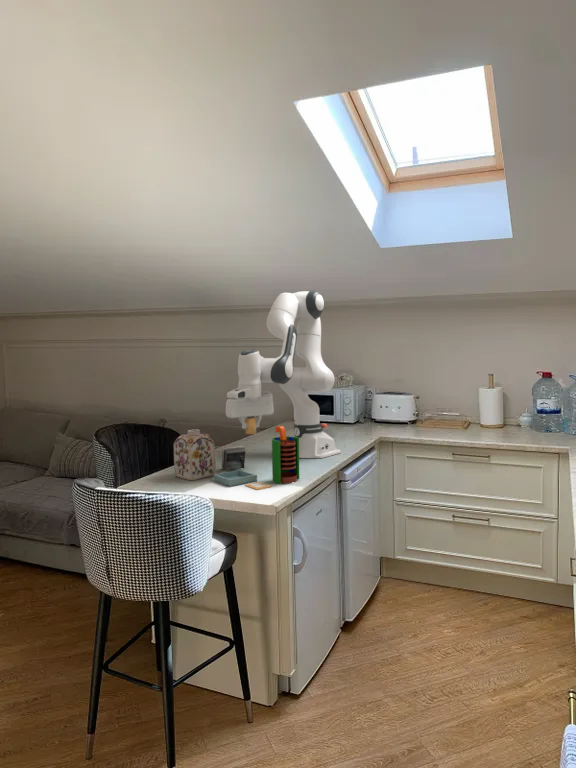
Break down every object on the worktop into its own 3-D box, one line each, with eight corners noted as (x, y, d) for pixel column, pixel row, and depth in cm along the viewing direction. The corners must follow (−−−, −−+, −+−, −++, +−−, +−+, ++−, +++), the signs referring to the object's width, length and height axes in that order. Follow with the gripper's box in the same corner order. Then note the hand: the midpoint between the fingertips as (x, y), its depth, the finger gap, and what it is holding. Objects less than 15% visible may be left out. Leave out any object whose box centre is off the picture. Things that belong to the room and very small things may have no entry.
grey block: (235, 473, 233) (235, 460, 233) (241, 475, 230) (240, 462, 230) (226, 475, 231) (226, 462, 230) (232, 476, 228) (231, 464, 227)
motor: (287, 485, 212) (285, 429, 211) (267, 482, 217) (265, 428, 216) (302, 479, 221) (301, 425, 219) (283, 476, 226) (281, 424, 224)
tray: (240, 476, 228) (239, 469, 228) (257, 481, 219) (256, 474, 219) (213, 481, 221) (213, 474, 221) (230, 487, 212) (229, 480, 212)
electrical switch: (243, 466, 245) (242, 444, 244) (247, 470, 241) (247, 447, 239) (221, 469, 242) (220, 446, 240) (225, 472, 237) (224, 450, 235)
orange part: (252, 432, 232) (252, 415, 232) (258, 433, 229) (257, 416, 229) (243, 433, 230) (243, 416, 230) (249, 434, 227) (249, 417, 226)
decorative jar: (216, 475, 230) (214, 429, 228) (191, 481, 222) (189, 433, 220) (198, 471, 239) (196, 426, 237) (173, 476, 231) (171, 430, 229)
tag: (258, 482, 217) (258, 481, 217) (271, 487, 210) (271, 485, 210) (244, 485, 213) (244, 484, 213) (257, 490, 207) (257, 488, 207)
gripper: (267, 390, 237) (268, 424, 238) (223, 393, 225) (223, 429, 226) (276, 391, 232) (277, 426, 233) (231, 394, 220) (232, 431, 221)
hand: (250, 428), depth 230 cm, fingers closed on orange part, 4 cm apart
